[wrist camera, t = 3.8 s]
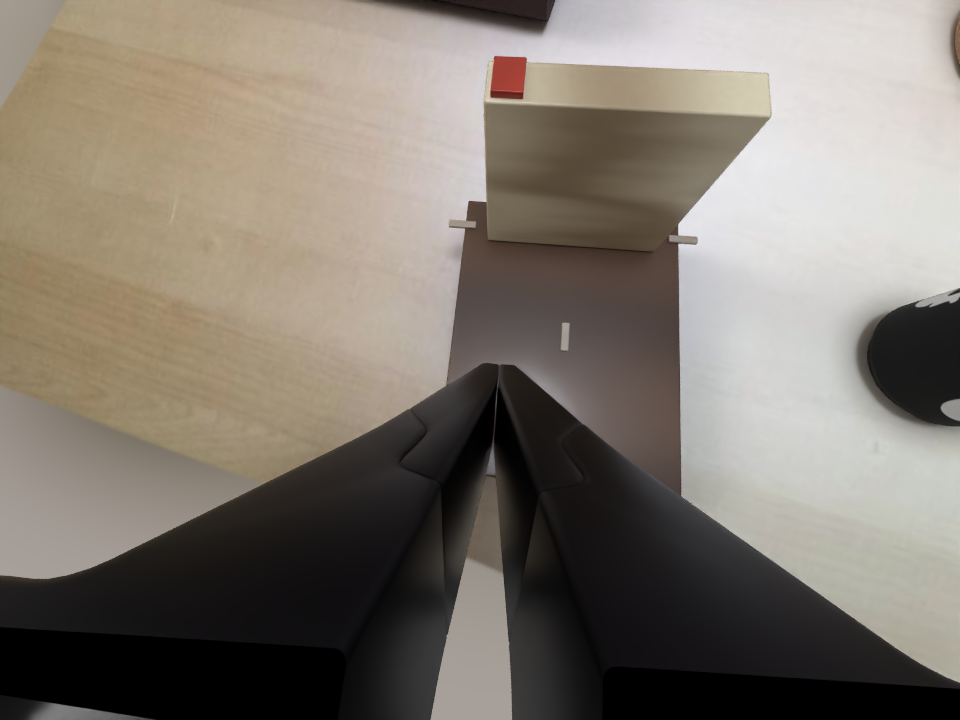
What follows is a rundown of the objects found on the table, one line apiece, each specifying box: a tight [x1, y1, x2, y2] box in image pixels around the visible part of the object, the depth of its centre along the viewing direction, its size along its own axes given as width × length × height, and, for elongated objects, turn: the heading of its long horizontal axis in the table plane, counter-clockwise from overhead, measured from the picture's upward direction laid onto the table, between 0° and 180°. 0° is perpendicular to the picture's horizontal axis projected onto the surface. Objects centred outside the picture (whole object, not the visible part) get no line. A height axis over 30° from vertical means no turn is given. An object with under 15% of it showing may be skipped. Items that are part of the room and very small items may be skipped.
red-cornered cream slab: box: [484, 56, 772, 252], centre depth 15 cm, size 8×2×8 cm, turn 84°
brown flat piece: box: [446, 201, 697, 496], centre depth 20 cm, size 19×13×3 cm
